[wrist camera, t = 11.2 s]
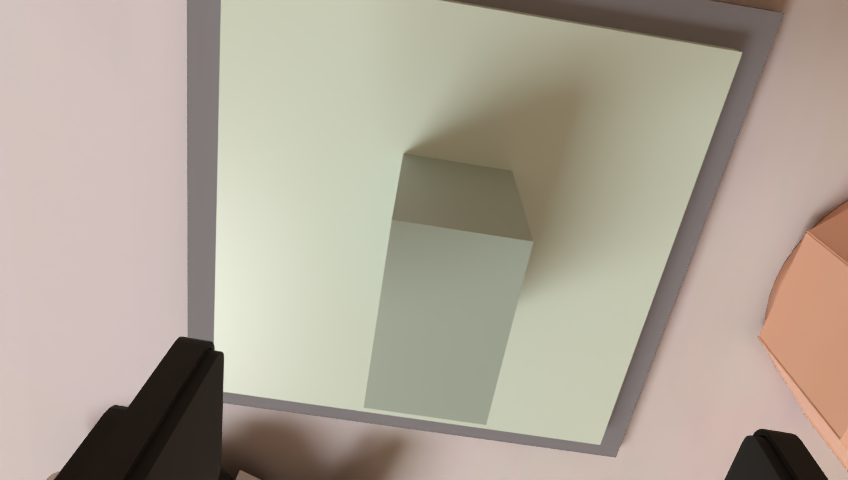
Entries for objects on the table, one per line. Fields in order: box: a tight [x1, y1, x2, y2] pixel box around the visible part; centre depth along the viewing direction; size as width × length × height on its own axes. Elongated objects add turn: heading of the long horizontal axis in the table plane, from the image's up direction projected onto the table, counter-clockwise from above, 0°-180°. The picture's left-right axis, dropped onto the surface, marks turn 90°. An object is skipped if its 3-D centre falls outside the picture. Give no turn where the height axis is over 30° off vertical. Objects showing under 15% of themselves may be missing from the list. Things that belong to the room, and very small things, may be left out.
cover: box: [214, 0, 743, 445], centre depth 17 cm, size 13×13×5 cm
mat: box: [187, 0, 784, 457], centre depth 19 cm, size 15×15×1 cm
